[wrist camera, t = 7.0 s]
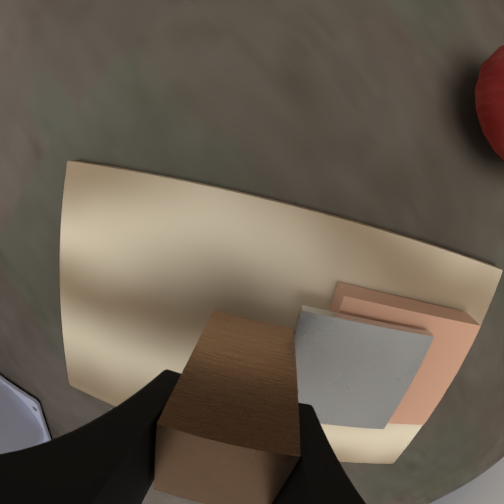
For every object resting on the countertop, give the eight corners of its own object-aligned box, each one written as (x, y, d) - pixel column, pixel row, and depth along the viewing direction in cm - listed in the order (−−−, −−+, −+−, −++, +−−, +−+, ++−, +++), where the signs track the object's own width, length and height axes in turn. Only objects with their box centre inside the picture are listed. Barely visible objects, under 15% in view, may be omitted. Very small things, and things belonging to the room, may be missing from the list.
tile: (297, 389, 14) (414, 405, 14) (297, 412, 13) (423, 424, 12) (337, 280, 13) (464, 310, 12) (344, 295, 11) (480, 325, 11)
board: (390, 455, 16) (392, 463, 15) (75, 378, 17) (69, 384, 16) (494, 265, 12) (502, 270, 12) (77, 160, 13) (67, 160, 13)
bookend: (381, 422, 12) (412, 525, 6) (198, 390, 12) (154, 502, 6) (429, 331, 11) (505, 427, 5) (218, 284, 11) (158, 389, 5)
